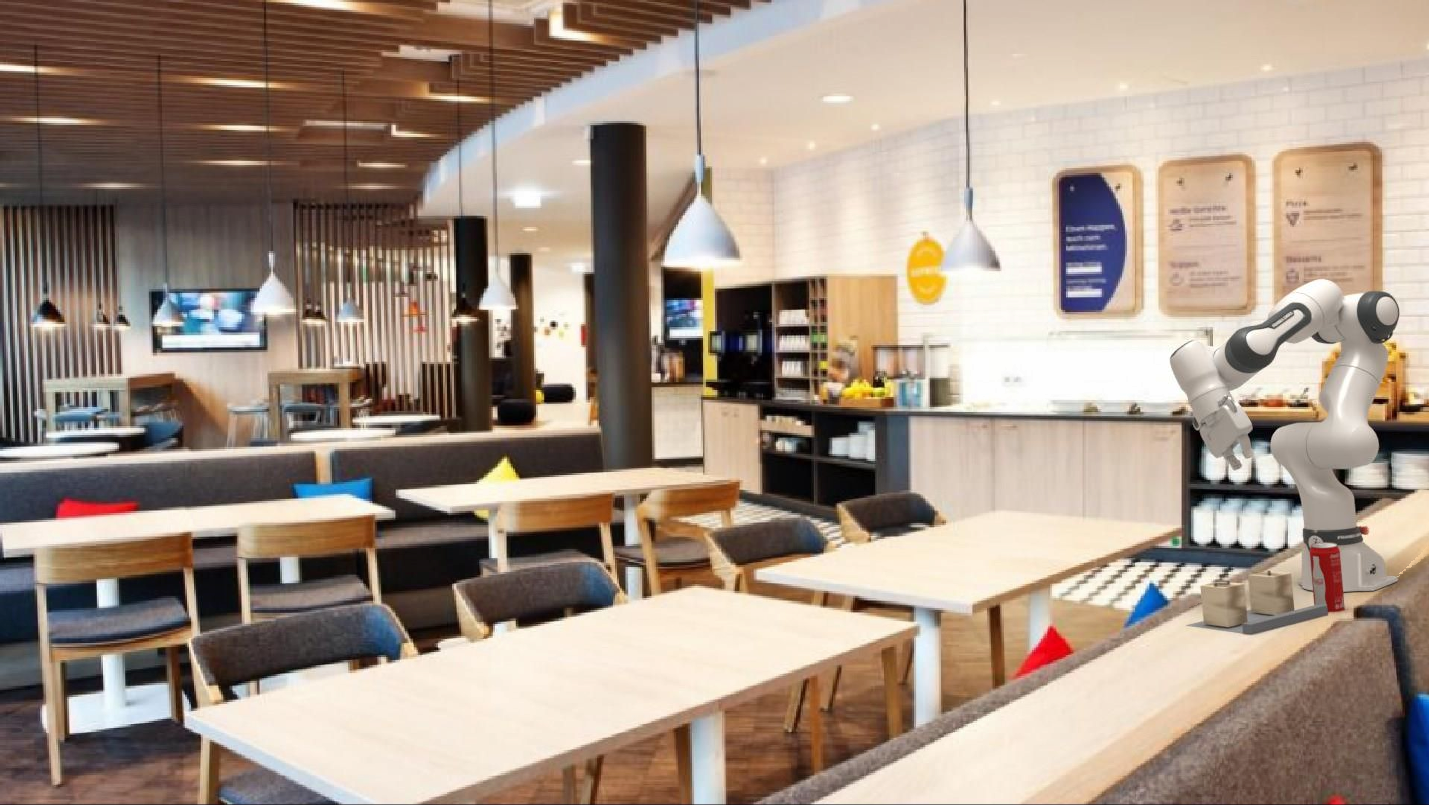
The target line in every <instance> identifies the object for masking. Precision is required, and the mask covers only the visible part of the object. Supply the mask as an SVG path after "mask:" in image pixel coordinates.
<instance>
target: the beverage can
mask: <svg viewBox="0 0 1429 805" xmlns="http://www.w3.org/2000/svg"><path fill="white" fill-rule="evenodd" d="M1310 562H1311V573H1312V585H1313V590H1312V595H1313V606H1314V605H1318V604H1320V605H1327V610H1328V613H1335V612H1336V613H1338V612H1343V611H1345V610H1346V609H1345V608H1346V605H1345V598H1344V597H1345V596H1344V592H1343V582H1342V570H1341V559H1340V550H1339V548H1338V546H1337V544H1335V543H1326V542H1325V543H1315V544H1312V545H1311V549H1310Z"/></svg>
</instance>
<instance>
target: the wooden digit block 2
mask: <svg viewBox="0 0 1429 805" xmlns="http://www.w3.org/2000/svg"><path fill="white" fill-rule="evenodd" d="M1199 586H1200V587H1199V588H1200V596H1201V597H1200V598H1201V607H1202V616H1203V617H1202V618H1203V619H1202V621H1204V624H1208V625H1215V626H1222V627H1232V626H1235V625H1239V624H1242V623H1246V622H1248V620H1247V610H1248V609H1247V602H1246V601H1247V600H1246V589H1245V588H1246V587H1245V583H1239V582H1231V581H1230V580H1216V581H1215V582H1211V583H1207V584H1202V585H1199Z"/></svg>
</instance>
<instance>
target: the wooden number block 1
mask: <svg viewBox="0 0 1429 805" xmlns="http://www.w3.org/2000/svg"><path fill="white" fill-rule="evenodd" d="M1247 579H1248V580H1247V581H1248V589H1249V600H1250V609H1251V612H1254V613H1262V614H1270V615H1278V614H1282V613H1286V612H1290V611H1294V610H1295V601H1294V590H1293V579H1292V573H1291V572H1282V571H1272V570H1265V571H1261V572H1260V571H1259V572H1257V573H1251V574H1248V575H1247Z"/></svg>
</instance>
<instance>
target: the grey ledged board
mask: <svg viewBox="0 0 1429 805" xmlns="http://www.w3.org/2000/svg"><path fill="white" fill-rule="evenodd" d="M1328 615H1329V612H1328V610H1327V605H1320V604H1318V605H1314V604H1313V605H1311V606H1306V607H1302V608H1299V609H1294V611H1290V612H1286V613H1282V614H1278V615H1270V614H1262V613H1254V612H1251V608H1250V609H1247V620H1248V622H1246V623H1242V624H1239V625H1235V626H1232V627H1222V626H1215V625H1208V624H1204V620H1202V621H1198V622H1193V623H1188V624H1185V626H1187V627H1192V628H1193V627H1194V628H1201V629H1206V630H1208V629H1209V630H1216V631H1221V632H1228V633H1236V634H1243V635H1249V636H1253V635H1256V634H1257V635H1258V634H1260V633H1265V632H1268V631H1272V630H1276V629H1281V628H1283V627H1287V626H1291V625H1296V624H1299V623H1303V622H1307V621H1311V620H1315V619H1318V618H1322V617H1325V616H1326V617H1327V616H1328Z"/></svg>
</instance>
